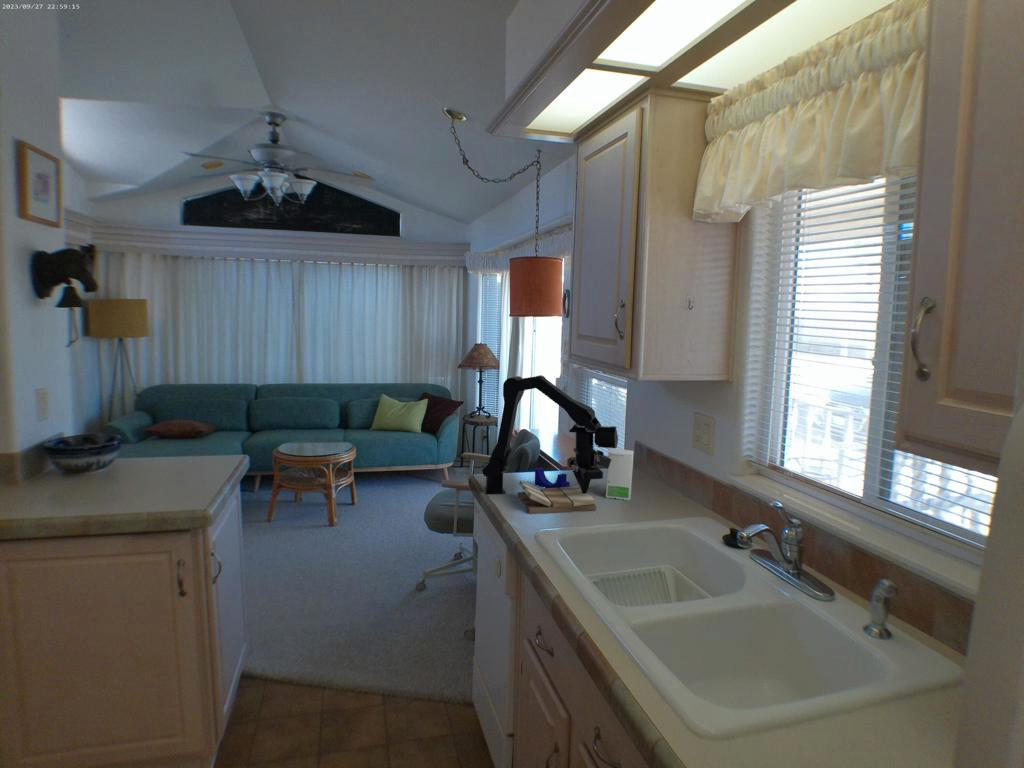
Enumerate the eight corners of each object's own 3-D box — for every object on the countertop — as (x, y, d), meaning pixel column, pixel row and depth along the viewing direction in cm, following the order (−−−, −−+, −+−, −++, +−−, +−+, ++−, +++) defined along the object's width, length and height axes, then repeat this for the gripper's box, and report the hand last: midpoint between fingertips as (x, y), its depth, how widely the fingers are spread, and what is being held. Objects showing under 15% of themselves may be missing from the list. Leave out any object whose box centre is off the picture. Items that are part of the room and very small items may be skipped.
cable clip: (569, 490, 208) (569, 473, 207) (560, 492, 205) (560, 475, 204) (543, 483, 217) (543, 466, 216) (534, 485, 213) (534, 469, 213)
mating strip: (540, 492, 200) (540, 488, 200) (557, 491, 201) (557, 487, 201) (553, 507, 184) (553, 503, 184) (571, 506, 185) (572, 502, 185)
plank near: (518, 483, 198) (520, 480, 198) (537, 491, 200) (538, 488, 200) (529, 498, 182) (531, 494, 182) (549, 506, 184) (551, 503, 184)
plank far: (559, 491, 201) (559, 487, 201) (579, 489, 202) (579, 485, 202) (573, 505, 186) (573, 502, 185) (595, 504, 187) (595, 500, 187)
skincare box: (605, 498, 199) (606, 452, 197) (606, 492, 205) (608, 447, 204) (631, 500, 197) (632, 453, 195) (632, 494, 203) (633, 449, 202)
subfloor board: (517, 496, 199) (517, 492, 199) (578, 493, 204) (578, 489, 203) (529, 514, 182) (529, 509, 182) (596, 510, 186) (596, 506, 186)
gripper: (619, 451, 185) (618, 500, 187) (598, 439, 203) (598, 484, 205) (584, 453, 183) (584, 503, 185) (566, 440, 201) (566, 486, 203)
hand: (584, 493), depth 194 cm, fingers closed, pressing on plank far
